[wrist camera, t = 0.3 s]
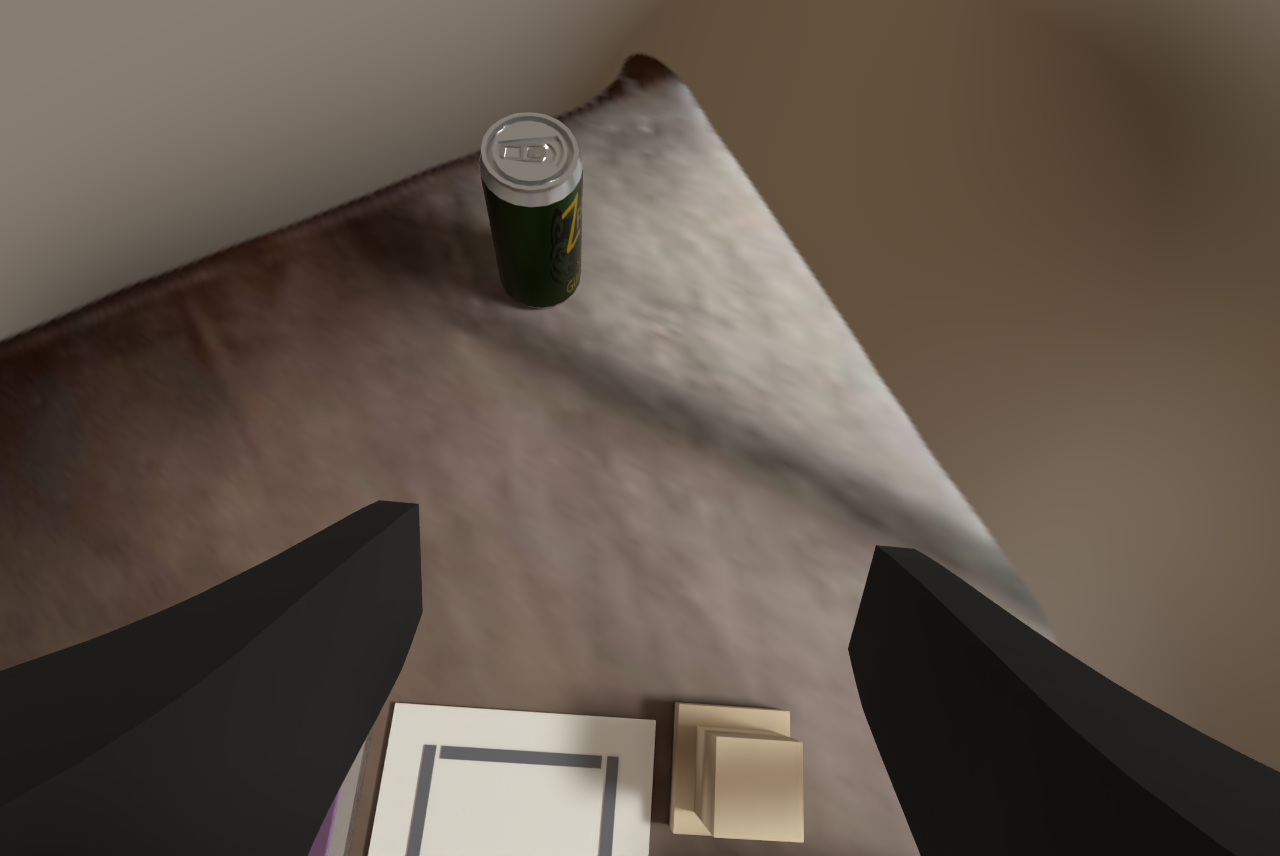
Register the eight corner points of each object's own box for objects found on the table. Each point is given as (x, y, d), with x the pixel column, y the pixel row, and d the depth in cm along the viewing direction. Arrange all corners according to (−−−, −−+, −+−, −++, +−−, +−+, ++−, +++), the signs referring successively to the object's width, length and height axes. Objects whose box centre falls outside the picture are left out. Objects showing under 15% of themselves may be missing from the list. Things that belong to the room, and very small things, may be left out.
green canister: (499, 313, 43) (474, 192, 32) (501, 244, 45) (477, 106, 34) (581, 313, 44) (584, 195, 33) (579, 245, 46) (582, 110, 34)
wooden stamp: (779, 830, 35) (826, 870, 28) (667, 823, 35) (690, 863, 28) (778, 708, 37) (823, 719, 31) (673, 701, 37) (695, 711, 30)
